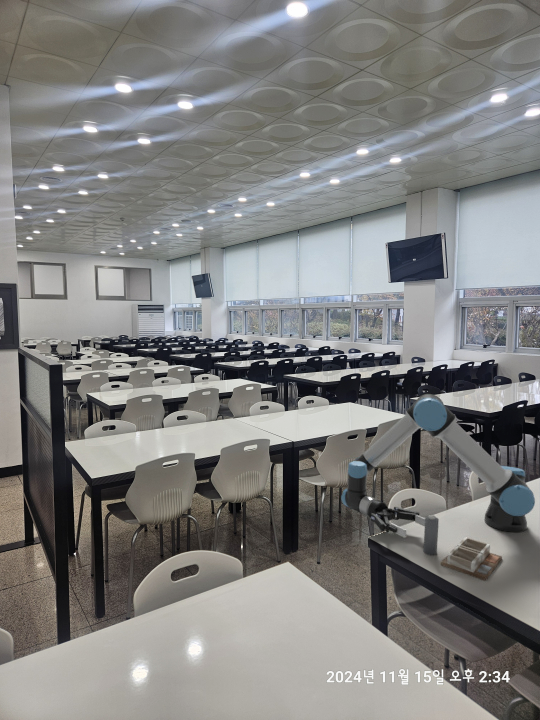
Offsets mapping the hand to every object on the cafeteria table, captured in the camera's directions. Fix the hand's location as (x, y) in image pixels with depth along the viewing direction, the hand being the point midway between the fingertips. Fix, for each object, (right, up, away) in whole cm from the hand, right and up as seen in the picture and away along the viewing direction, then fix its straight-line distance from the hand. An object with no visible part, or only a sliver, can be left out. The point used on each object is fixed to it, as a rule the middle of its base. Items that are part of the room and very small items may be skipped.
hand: (418, 529), depth 166 cm
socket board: (+15, -7, -9) cm, 19 cm away
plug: (+3, -7, -3) cm, 8 cm away
